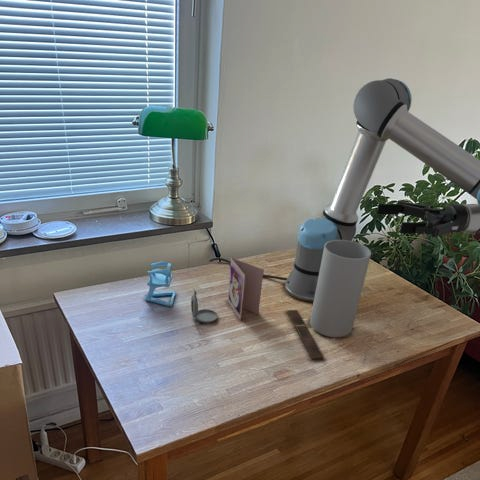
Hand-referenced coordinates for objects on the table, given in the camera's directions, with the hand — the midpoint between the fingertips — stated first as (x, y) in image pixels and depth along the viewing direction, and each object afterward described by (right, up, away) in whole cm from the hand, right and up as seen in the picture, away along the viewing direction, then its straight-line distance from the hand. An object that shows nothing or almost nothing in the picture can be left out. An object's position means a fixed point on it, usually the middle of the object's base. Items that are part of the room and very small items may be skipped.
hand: (388, 218), depth 124 cm
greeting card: (-38, -24, +20) cm, 50 cm away
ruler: (-21, -31, +11) cm, 39 cm away
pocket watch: (-50, -26, +14) cm, 59 cm away
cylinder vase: (-12, -29, +16) cm, 35 cm away
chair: (-64, -21, +21) cm, 70 cm away
